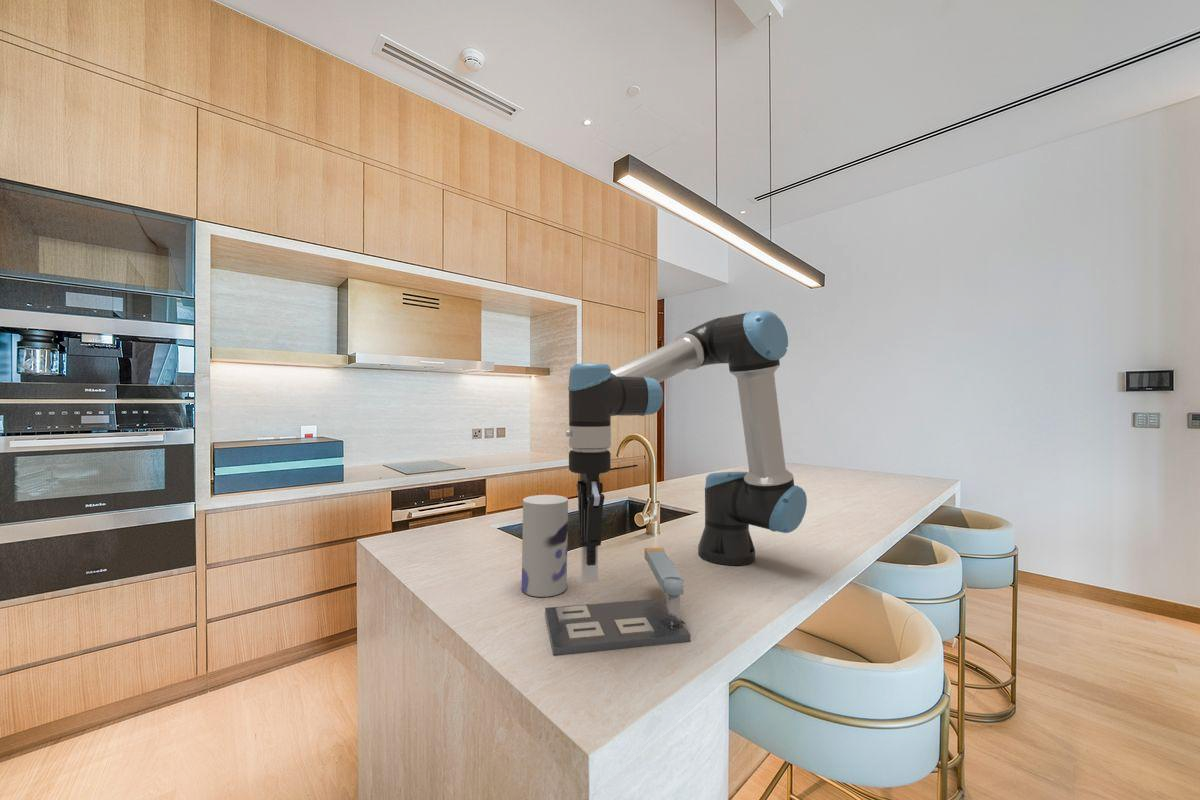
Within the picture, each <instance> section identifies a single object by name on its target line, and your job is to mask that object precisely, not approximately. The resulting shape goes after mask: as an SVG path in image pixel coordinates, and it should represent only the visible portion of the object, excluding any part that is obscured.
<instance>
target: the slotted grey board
mask: <svg viewBox="0 0 1200 800" xmlns="http://www.w3.org/2000/svg"><path fill="white" fill-rule="evenodd" d="M544 616H545V620H546V621H545V622H546V626H547V631H548V637H549V641H550V645H551V650H552V654H553V656H560V655H568V654H580V653H589V652H591V653H592V652H599V651H600V652H602V651H608V650H620V649H628V648H629V649H630V648H638V647H639V648H640V647H648V646H658V645H660V646H661V645H668V644H680V643H687V642H689V643H690V642H691V640H692V639H691V637H692V636H691V633H690V632H689V631H688V629H687V628H686V626H685V627H684V626H683V625H680V624H682V623H681V622H680V624H679V627H677V626H676V627H675V628H674V626H673V627H671V628H668V624H667V623H666V618H667V603H665V601H664V600H663V598H653V599H652V598H651V599H650V598H649V599H641V600H640V599H639V600H628V601H627V600H624V601H615V602H614V601H613V602H611V601H610V602H601V603H587V604H575V605H562V606H551V607H550V606H549V607H544ZM663 620H664V621H663ZM662 621H663V622H662ZM661 622H662V623H661ZM663 624H665V626H667V627H665V626H664V625H663ZM680 626H681V627H680ZM669 627H670V625H669ZM682 627H683V628H682ZM672 628H673V629H672ZM676 628H678V629H676ZM679 628H680V629H679Z"/></svg>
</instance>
